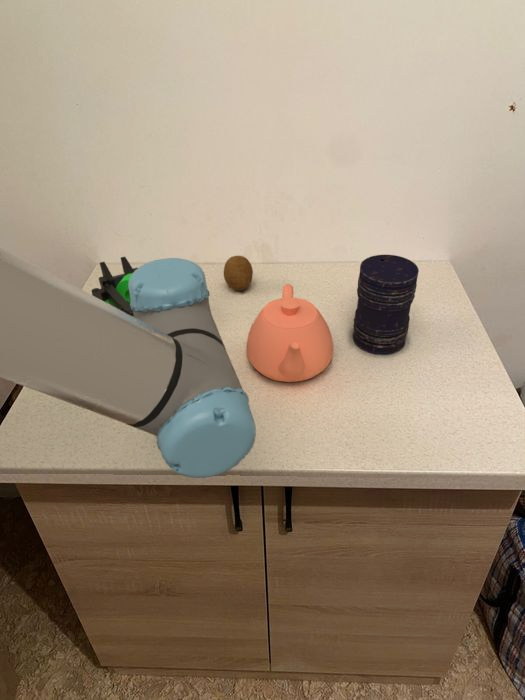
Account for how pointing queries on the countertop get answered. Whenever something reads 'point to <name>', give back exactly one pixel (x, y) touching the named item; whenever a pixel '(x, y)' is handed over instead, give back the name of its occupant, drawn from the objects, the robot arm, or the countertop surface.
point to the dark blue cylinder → (384, 303)
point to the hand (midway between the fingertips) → (114, 267)
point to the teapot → (289, 339)
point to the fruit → (238, 273)
